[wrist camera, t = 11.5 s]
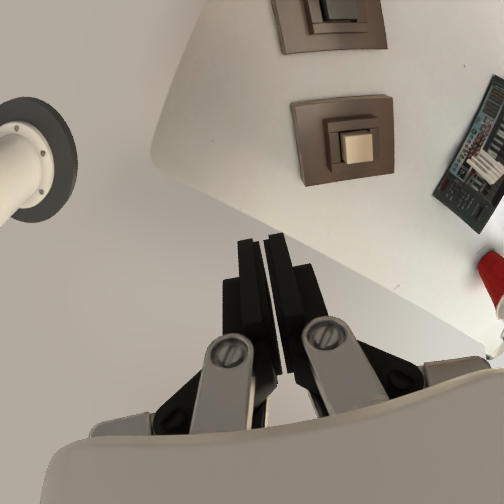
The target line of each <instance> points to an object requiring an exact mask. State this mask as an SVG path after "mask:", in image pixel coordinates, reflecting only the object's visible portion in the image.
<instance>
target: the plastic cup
mask: <svg viewBox="0 0 504 504" xmlns="http://www.w3.org/2000/svg"><path fill="white" fill-rule="evenodd" d="M478 272H479V275H480V277H481V278H482V280H483V282H484V285H485V287H486V289H487V291H488V293H489V295H490V297H491V299H492V301H493V303H494V306H495V309H496V316H497V318H498V320H500V321H504V258H503V257H502V256H500V255H499V254H498V253H496V252H494V251H492V252H489V253H487V254H486V255H485V256H484V257H483V258H482V259H481V261H480V262H479V265H478Z"/></svg>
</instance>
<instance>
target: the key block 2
mask: <svg viewBox="0 0 504 504" xmlns="http://www.w3.org/2000/svg"><path fill="white" fill-rule="evenodd" d="M291 107H292V113H293V120H294V126H295V133H296V140H297V147H298V154H299V162H300V169H301V177H302V181H303V183H304V185H305V187H307V186H313V185H319V184H325V183H331V182H337V181H344V180H350V179H357V178H363V177H370V176H377V175H384V174H392V173H394V118H393V99H392V97H389V96H387V95H369V96H354V97H342V98H331V99H322V100H313V101H305V102H298V103H291ZM362 130H366V131H368V132H370V133H371V134H372V145H373V161H366V162H359V163H352V164H347V163H346V162H345V161H344V160H343V159H342V150H341V138H340V133H344V132H353V131H362Z"/></svg>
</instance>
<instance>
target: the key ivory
mask: <svg viewBox="0 0 504 504" xmlns="http://www.w3.org/2000/svg"><path fill="white" fill-rule="evenodd" d="M340 138H341V150H342V159H343V160H344V161H345V162H346V163H347V164H352V163H359V162H366V161H373V145H372V134H371V133H370V132H368V131H366V130H362V131H353V132H344V133H340Z"/></svg>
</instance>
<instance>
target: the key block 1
mask: <svg viewBox="0 0 504 504" xmlns="http://www.w3.org/2000/svg"><path fill="white" fill-rule="evenodd" d="M271 1H272V6H273V10H274V15H275V20H276V25H277V29H278V34H279V39H280V45H281V50H282V54H293V53H303V52H314V51H327V50H347V49H388V48H387V40H386V33H385V26H384V20H383V14H382V9H381V3H380V0H356V4H357V9H358V14H359V19H357V20H334V21H325V20H324V15H323V10H322V5H321V0H271Z"/></svg>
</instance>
